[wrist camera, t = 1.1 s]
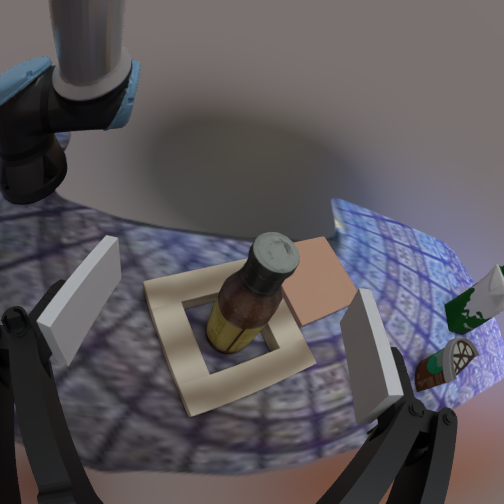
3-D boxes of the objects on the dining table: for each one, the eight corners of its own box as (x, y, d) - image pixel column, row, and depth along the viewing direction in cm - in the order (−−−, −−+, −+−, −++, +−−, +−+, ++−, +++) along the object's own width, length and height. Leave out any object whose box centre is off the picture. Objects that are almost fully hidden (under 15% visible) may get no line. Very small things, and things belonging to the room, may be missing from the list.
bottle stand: (143, 291, 37) (143, 281, 35) (254, 265, 46) (261, 255, 44) (188, 417, 30) (191, 416, 27) (306, 368, 38) (316, 363, 36)
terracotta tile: (260, 253, 48) (262, 249, 47) (321, 240, 54) (324, 236, 53) (298, 328, 42) (302, 325, 41) (358, 301, 48) (361, 298, 47)
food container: (434, 346, 48) (469, 326, 40) (443, 370, 45) (480, 353, 38) (402, 366, 43) (443, 347, 35) (412, 395, 40) (455, 380, 32)
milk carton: (459, 308, 58) (515, 267, 43) (465, 339, 53) (526, 300, 37) (441, 300, 57) (501, 255, 42) (447, 334, 51) (513, 291, 36)
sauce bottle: (251, 319, 40) (319, 235, 25) (245, 360, 36) (320, 295, 21) (207, 307, 39) (249, 211, 24) (197, 348, 35) (237, 272, 20)
